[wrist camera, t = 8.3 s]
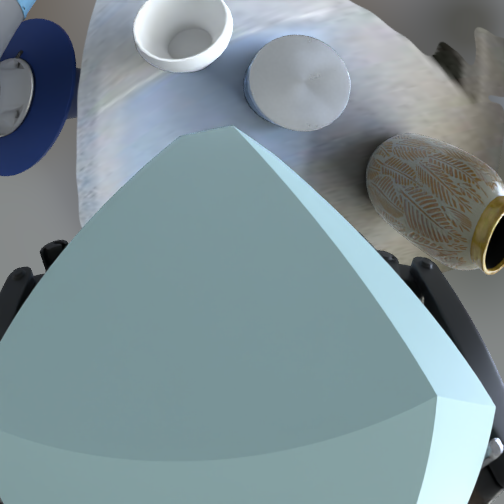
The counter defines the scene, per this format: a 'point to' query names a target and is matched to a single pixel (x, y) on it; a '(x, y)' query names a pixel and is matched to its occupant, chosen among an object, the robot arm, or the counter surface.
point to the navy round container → (297, 83)
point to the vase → (440, 200)
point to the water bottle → (231, 353)
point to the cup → (182, 33)
